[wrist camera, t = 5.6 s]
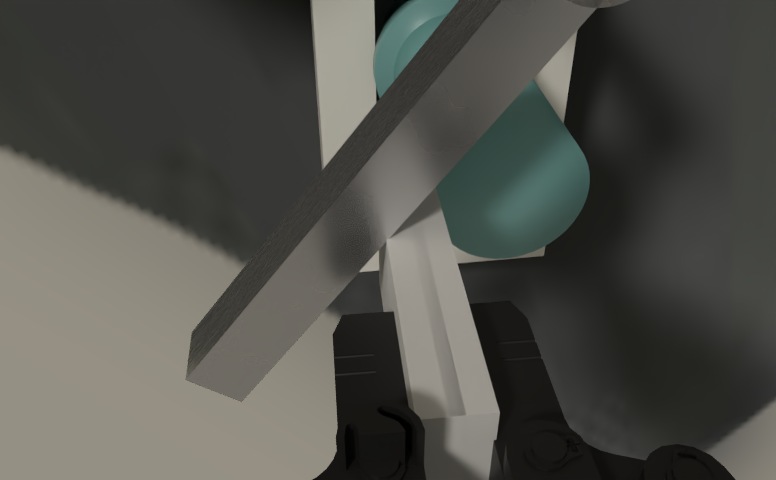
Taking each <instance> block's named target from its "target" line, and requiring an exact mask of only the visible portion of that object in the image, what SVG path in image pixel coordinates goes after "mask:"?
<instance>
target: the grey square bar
mask: <svg viewBox="0 0 776 480" xmlns="http://www.w3.org/2000/svg"><path fill="white" fill-rule="evenodd" d="M627 1H629V0H459V1H458V2H457V3H456V5H455V6H454V7H453V8H452V10H451V11H450V12H449V13H448V15H447V16H446V17H445V18H444V19H443V21H442V22H441V23H440V24H439V26H438V27H437V28H436V29H435V31H434V32H433V33H432V34H431V36H430V37H429V38H428V39H427V41H426V42H425V43H424V44H423V46H422V47H421V48H420V49H419V51H418V52H417V53H416V54H415V56H414V57H413V58H412V59H411V61H410V62H409V63H408V64H407V66H406V67H405V68H404V69H403V70H402V72H401V73H400V74H399V75H398V77H397V78H396V79H395V80H394V82H393V83H392V84H391V85H390V87H389V88H388V89H387V90H386V92H385V93H384V94H383V95H382V97H381V98H380V99H379V100H378V102H377V103H376V104H375V105H374V107H373V108H372V109H371V110H370V112H369V113H368V114H367V115H366V116H365V118H364V119H363V120H362V121H361V123H360V124H359V125H358V126H357V128H356V129H355V130H354V131H353V133H352V134H351V135H350V136H349V138H348V139H347V140H346V141H345V143H344V144H343V145H342V146H341V148H340V149H339V150H338V151H337V153H336V154H335V155H334V156H333V158H332V159H331V160H330V161H329V162H328V164H327V165H326V166H325V167H324V169H323V170H322V171H321V172H320V174H319V175H318V176H317V177H316V179H315V180H314V181H313V182H312V184H311V185H310V186H309V187H308V189H307V190H306V191H305V192H304V194H303V195H302V196H301V197H300V199H299V200H298V201H297V202H296V204H295V205H294V206H293V207H292V208H291V210H290V211H289V212H288V213H287V215H286V216H285V217H284V218H283V220H282V221H281V222H280V223H279V225H278V226H277V227H276V228H275V230H274V231H273V232H272V233H271V235H270V236H269V237H268V238H267V240H266V241H265V242H264V243H263V245H262V246H261V247H260V248H259V250H258V251H257V252H256V253H255V254H254V256H253V257H252V258H251V259H250V261H249V262H248V263H247V264H246V266H245V267H244V268H243V269H242V271H241V272H240V273H239V274H238V276H237V277H236V278H235V279H234V281H233V282H232V283H231V284H230V286H229V287H228V288H227V289H226V291H225V292H224V293H223V294H222V296H221V297H220V298H219V299H218V300H217V302H216V303H215V304H214V305H213V307H212V308H211V309H210V311H209V312H208V313H207V314H206V315H205V317H204V318H203V319H202V320H201V322H200V323H199V324H198V325H197V327H196V328H195V329H194V330H193V332H192V335H191V343H190V350H189V358H188V366H187V374H186V380H187V381H190V382H192V383H195V384H197V385H200V386H203V387H205V388H208V389H210V390H213V391H215V392H218V393H220V394H223V395H226V396H228V397H231V398H233V399H236V400H238V401H241V402H242V401H243V400H244V399H245V398H246V396H247V395H248V394H249V393H250V392H251V391H252V390H253V389H254V388H255V386H256V385H257V384H258V383H259V382H260V381H261V380H262V379H263V378H264V376H265V375H266V374H267V373H268V372H269V371H270V370H271V369H272V368H273V367H274V365H275V364H276V363H277V362H278V361H279V360H280V359H281V358H282V357H283V355H284V354H285V353H286V352H287V351H288V350H289V349H290V348H291V347H292V345H293V344H294V343H295V342H296V341H297V340H298V339H299V338H300V337H301V336H302V334H303V333H304V332H305V331H306V330H307V329H308V328H309V327H310V325H311V324H312V323H313V322H314V321H315V320H316V319H317V318H318V317H319V316H320V314H321V313H322V312H323V311H324V310H325V309H326V308H327V307H328V306H329V305H330V303H331V302H332V301H333V300H334V299H335V298H336V297H337V296H338V295H339V293H340V292H341V291H342V290H343V289H344V288H345V287H346V286H347V285H348V283H349V282H350V281H351V280H352V279H353V278H354V277H355V276H356V275H357V273H358V272H359V271H360V270H361V269H362V268H363V267H364V266H365V265H366V264H367V262H368V261H369V260H370V259H371V258H372V257H373V256H374V255H375V254H376V252H377V251H378V250H379V249H380V248H381V247H382V246H383V245H384V244H385V242H386V239H389V238H390V237H391V236H392V235H393V234H394V233H395V231H396V230H397V229H398V228H399V227H400V226H401V225H402V224H403V223H404V221H405V220H406V219H407V218H408V217H409V216H410V215H411V214H412V213H413V211H414V210H415V209H416V208H417V207H418V206H419V205H420V204H421V203H422V201H423V200H424V199H425V198H426V197H427V196H428V195H429V194H430V193H431V192H432V190H433V189H434V188H435V187H436V186H437V185H438V184H439V183H440V182H441V180H442V179H443V178H444V177H445V176H446V175H447V174H448V173H449V172H450V170H451V169H452V168H453V167H454V166H455V165H456V164H457V163H458V162H459V161H460V159H461V158H462V157H463V156H464V155H465V154H466V153H467V152H468V151H469V149H470V148H471V147H472V146H473V145H474V144H475V143H476V142H477V141H478V139H479V138H480V137H481V136H482V135H483V134H484V133H485V132H486V131H487V129H488V128H489V127H490V126H491V125H492V124H493V123H494V122H495V121H496V120H497V118H498V117H499V116H500V115H501V114H502V113H503V112H504V111H505V110H506V108H507V107H508V106H509V105H510V104H511V103H512V102H513V101H514V100H515V98H516V97H517V96H518V95H519V94H520V93H521V92H522V91H523V90H524V88H525V87H526V86H527V85H528V84H529V83H530V82H531V81H532V80H533V79H534V77H535V76H536V75H537V74H538V73H539V72H540V71H541V70H542V69H543V67H544V66H545V65H546V64H547V63H548V62H549V61H550V60H551V59H552V57H553V56H554V55H555V54H556V53H557V52H558V51H559V50H560V49H561V48H562V46H563V45H564V44H565V43H566V42H567V41H568V40H569V39H570V38H571V36H572V35H573V34H574V33H575V32H576V31H577V30H578V29H579V28H580V26H581V25H582V24H583V23H584V22H585V21H586V20H587V19H588V18H589V16H590V15H591V14H592V13H593V12H594V11H595V10H596V9H597V8H605V7H611V6H616V5H619V4H622V3H625V2H627Z"/></svg>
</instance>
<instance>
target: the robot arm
mask: <svg viewBox="0 0 776 480" xmlns="http://www.w3.org/2000/svg"><path fill="white" fill-rule="evenodd" d="M379 281H380V288H381V295H382V303H383V310H384V312H378V313H364V314H350V315H342V317H341V319H340V321H339V323H338V325H337V327H336V329H335V331H334V333H333V346H334V365H335V384H336V403H337V422H338V430H337V435H336V445H337V452H336V454H335V457H334V459H333V461H332V462H331V464H330V465H329V466H328V468H327V469H326V470H325V471H324V472H323V473H321V474H320V475H319V476H318V477H317V478H315V479H313V480H735V479H734V477H733V476H732V475H731V474H730V473H729V472H728V471H727V469H726V468H725V467H724V466H723V465H721V464H720V463H719V462H718V461H717V460H716V459H714V458H713V457H712V456H711V455H709V454H707V453H705V452H703V451H701V450H699V449H697V448H694V447H689V446H684V445H679V444H675V445H668V446H661V447H660V448H658V449H656V450H655V451H653V452H652V453H650V455H649V456H648V458H647V460H640V459H635V458H630V457H625V456H620V455H615V454H611V453H607V452H604V451H600V450H598V449H596V448H594V447H592V446H590V445H588V444H587V443H585V442H584V441H583V439H582V438H581V436H580V435H578V434H577V433H576V432H574V431H573V430H572V429H570V428H569V426H568V424H567V422H566V420H565V418H564V416H563V413H562V410H561V408H560V405H559V402H558V400H557V397H556V394H555V392H554V389H553V386H552V383H551V381H550V378H549V375H548V373H547V370H546V367H545V365H544V362H543V359H541V354H540V351H539V349H538V346H537V343H535V338H534V335H533V333H532V330H531V327H530V325H529V322H528V319H527V318H526V317H525V316H524V315H523V314H522V313H521V312H520V311H519V310H518V309H517V308H516V307H515V306H514V305H513V304H512V303H511V302H510V301H504V302H491V303H477V304H469V303H468V299H467V296H466V292H465V289H464V285H463V282H462V278H461V275H460V271H459V268H458V264H457V260H456V257H455V253H454V250H453V246H452V243H451V239H450V236H449V232H448V229H447V225H446V222H445V218H444V215H443V211H442V208H441V204H440V201H439V197H438V194H437V190H436V187H435V188H434V189H433V190H432V192H431V193H430V194H429V195H428V196H427V197H426V198H425V199H424V200H423V201H422V203H421V204H420V205H419V206H418V207H417V208H416V209H415V210H414V211H413V213H412V214H411V215H410V216H409V217H408V218H407V219H406V220H405V221H404V223H403V224H402V225H401V226H400V227H399V228H398V229H397V230H396V231H395V233H394V234H393V235H392V236H391V237H390V238H389V239H386V242H385V244H384V245H383V246H382V247H381V248H380V249H379Z"/></svg>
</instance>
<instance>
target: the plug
mask: <svg viewBox="0 0 776 480" xmlns="http://www.w3.org/2000/svg"><path fill="white" fill-rule="evenodd" d="M458 1H459V0H396V1H395V2H394V3H393V4H392V6H391V7H390V9H389V11H388V13H387V15H386V17H385V20H384V23H383V28H382V31H381V33H380V35H379V37H378V40H377V43H376V46H375V51H374V56H373V74H374V79H375V84H376V88H377V92H378V95H379V98H381V97H382V95H383V94H384V93H385V92H386V90H387V89H388V88H389V87H390V85H391V84H392V83H393V82H394V80H395V79H396V78H397V77H398V75H399V74H400V73H401V72H402V70H403V69H404V68H405V67H406V66H407V64H408V63H409V62H410V61H411V59H412V58H413V57H414V56H415V54H416V53H417V52H418V51H419V49H420V48H421V47H422V46H423V44H424V43H425V42H426V41H427V39H428V38H429V37H430V36H431V34H432V33H433V32H434V31H435V29H436V28H437V27H438V26H439V24H440V23H441V22H442V21H443V19H444V18H445V17H446V16H447V15H448V13H449V12H450V11H451V10H452V8H453V7H454V6H455V5H456V3H457V2H458ZM589 185H590V172H589V167H588V163H587V160H586V158H585V155H584V154H583V152H582V150H581V149H580V147H579V146H578V144H577V143H576V141H575V140H574V138H573V137H572V135H571V134H570V133H569V131H568V130H567V128H566V127H565V125H564V124H563V122H562V121H561V119H560V118H559V116H558V115H557V113H556V112H555V110H554V109H553V107H552V106H551V104H550V103H549V102H548V100H547V99H546V97H545V96H544V94H543V93H542V91H541V90H540V88H539V87H538V85H537V84H536V82H535V81H534V79H533V80H532V81H531V82H530V83H529V84H528V85H527V86H526V87H525V88H524V90H523V91H522V92H521V93H520V94H519V95H518V96H517V97H516V98H515V100H514V101H513V102H512V103H511V104H510V105H509V106H508V107H507V108H506V110H505V111H504V112H503V113H502V114H501V115H500V116H499V117H498V118H497V120H496V121H495V122H494V123H493V124H492V125H491V126H490V127H489V128H488V129H487V131H486V132H485V133H484V134H483V135H482V136H481V137H480V138H479V139H478V141H477V142H476V143H475V144H474V145H473V146H472V147H471V148H470V149H469V151H468V152H467V153H466V154H465V155H464V156H463V157H462V158H461V159H460V161H459V162H458V163H457V164H456V165H455V166H454V167H453V168H452V169H451V170H450V172H449V173H448V174H447V175H446V176H445V177H444V178H443V179H442V180H441V182H440V183H439V184H438V185H437V186H436V190H437V194H438V197H439V201H440V204H441V208H442V211H443V215H444V218H445V222H446V225H447V229H448V232H449V236H450V239H451V243H452V244H453V245H454V246H455V247H457V248H458V249H460V250H462V251H464V252H466V253H468V254H471V255H474V256H478V257H483V258H492V259H504V258H512V257H517V256H521V255H525V254H528V253H531V252H534V251H536V250H538V249H540V248H542V247H544V246H546V245H547V244H549V243H551V242H552V241H554V240H555V239H556V238H558V237H559V236H560V235H561V234H563V233H564V232H565V231H566V230H567V229H568V228H569V227H570V226H571V224H572V223H573V222H574V221H575V219H576V218H577V217H578V215H579V213H580V212H581V210H582V208H583V206H584V204H585V201H586V199H587V195H588V191H589Z"/></svg>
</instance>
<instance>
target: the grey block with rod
mask: <svg viewBox="0 0 776 480" xmlns="http://www.w3.org/2000/svg"><path fill="white" fill-rule="evenodd" d="M395 1H396V0H310V9H311V23H312V37H313V51H314V64H315V78H316V92H317V106H318V119H319V133H320V147H321V161H322V170H323V169H324V167H325V166H326V165H327V164H328V162H329V161H330V160H331V159H332V158H333V156H334V155H335V154H336V153H337V151H338V150H339V149H340V148H341V146H342V145H343V144H344V143H345V141H346V140H347V139H348V138H349V136H350V135H351V134H352V133H353V131H354V130H355V129H356V128H357V126H358V125H359V124H360V123H361V121H362V120H363V119H364V118H365V116H366V115H367V114H368V113H369V112H370V110H371V109H372V108H373V107H374V105H375V104H376V103H377V102H378V100H379V99H380V98H379V95H378V92H377V88H376V84H375V79H374V74H373V56H374V51H375V46H376V43H377V40H378V37H379V35H380V33H381V31H382V28H383V23H384V20H385V17H386V15H387V13H388V11H389V9H390V7H391V6H392V4H393V3H394V2H395ZM576 36H577V31H576V32H575V33H574V34H573V35H572V36H571V38H570V39H569V40H568V41H567V42H566V43H565V44H564V45H563V46H562V48H561V49H560V50H559V51H558V52H557V53H556V54H555V55H554V56H553V57H552V59H551V60H550V61H549V62H548V63H547V64H546V65H545V66H544V67H543V69H542V70H541V71H540V72H539V73H538V74H537V75H536V76H535V77H534V81H535V82H536V84H537V85H538V87H539V88H540V90H541V91H542V93H543V94H544V96H545V97H546V99H547V100H548V102H549V103H550V104H551V106H552V107H553V109H554V110H555V112H556V113H557V115H558V116H559V118H560V119H561V121H562V122H563V124H564V117H565V110H566V104H567V97H568V90H569V83H570V77H571V70H572V63H573V56H574V50H575V43H576ZM452 246H453V250H454V253H455V257H456V260H457V263H468V262H479V261H491V260H502V259H492V258H483V257H478V256H474V255H471V254H468V253H466V252H464V251H462V250H460V249H458V248H457V247H455V246H454V245H453V244H452ZM544 252H545V246H544V247H542V248H540V249H538V250H536V251H534V252H531V253H528V254H525V255H521V256H517V257H512V258H504V259H514V258H526V257H537V256H544ZM376 270H379V250H378V251H377V252H376V254H375V255H374V256H373V257H372V258H371V259H370V260H369V261H368V262H367V264H366V265H365V266H364V267H363V268H362V269H361V270H360V271H359V272H364V271H376Z"/></svg>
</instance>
